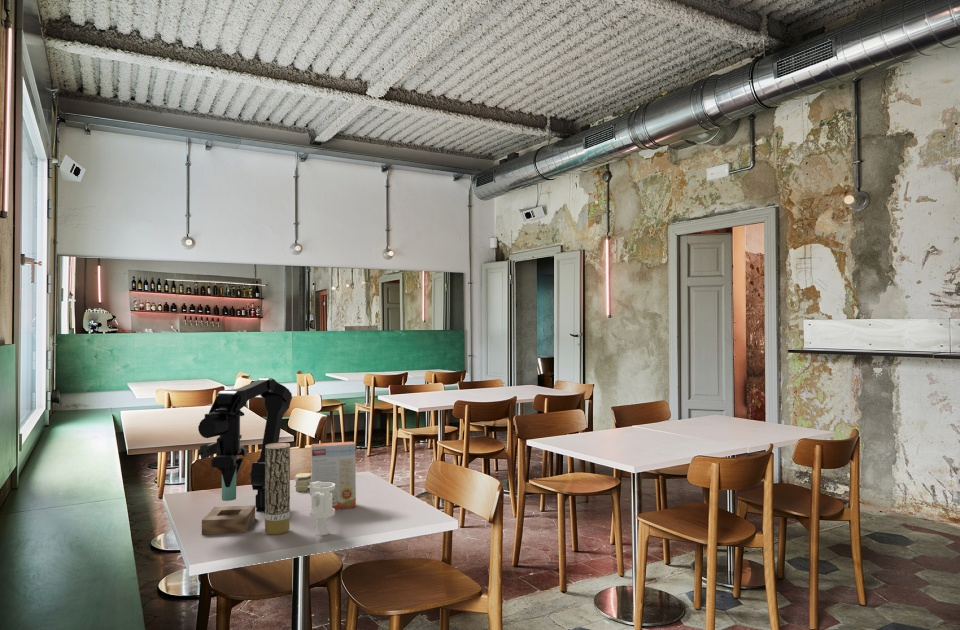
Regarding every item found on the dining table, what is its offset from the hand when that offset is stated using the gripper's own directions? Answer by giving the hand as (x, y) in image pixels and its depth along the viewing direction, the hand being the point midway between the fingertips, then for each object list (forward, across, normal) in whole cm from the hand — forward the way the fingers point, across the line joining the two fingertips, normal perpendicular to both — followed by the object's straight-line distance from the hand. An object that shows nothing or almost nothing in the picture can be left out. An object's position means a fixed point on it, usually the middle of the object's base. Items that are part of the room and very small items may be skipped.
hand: (229, 485), depth 192 cm
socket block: (+12, 0, 0) cm, 12 cm away
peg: (+4, 0, 0) cm, 4 cm away
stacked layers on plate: (+12, -43, +16) cm, 48 cm away
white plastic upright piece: (+12, +12, +28) cm, 33 cm away
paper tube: (+12, +8, +15) cm, 21 cm away
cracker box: (+12, -16, +29) cm, 35 cm away
